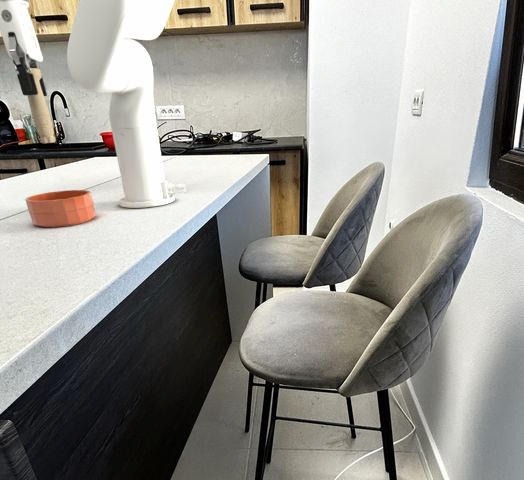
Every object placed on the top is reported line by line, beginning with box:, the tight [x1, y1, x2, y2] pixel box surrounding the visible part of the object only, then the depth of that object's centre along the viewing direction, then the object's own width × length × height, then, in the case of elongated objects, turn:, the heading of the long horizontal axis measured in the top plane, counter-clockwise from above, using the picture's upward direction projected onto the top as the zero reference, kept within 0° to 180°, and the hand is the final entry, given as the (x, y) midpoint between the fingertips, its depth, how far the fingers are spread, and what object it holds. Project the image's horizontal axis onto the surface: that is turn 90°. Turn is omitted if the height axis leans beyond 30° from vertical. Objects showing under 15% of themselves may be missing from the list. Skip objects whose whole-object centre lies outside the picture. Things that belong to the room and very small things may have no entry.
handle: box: [26, 68, 56, 144], centre depth 101 cm, size 5×6×15 cm
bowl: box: [24, 189, 97, 228], centre depth 86 cm, size 12×12×5 cm
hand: (35, 95), depth 99 cm, fingers closed on handle, 6 cm apart
